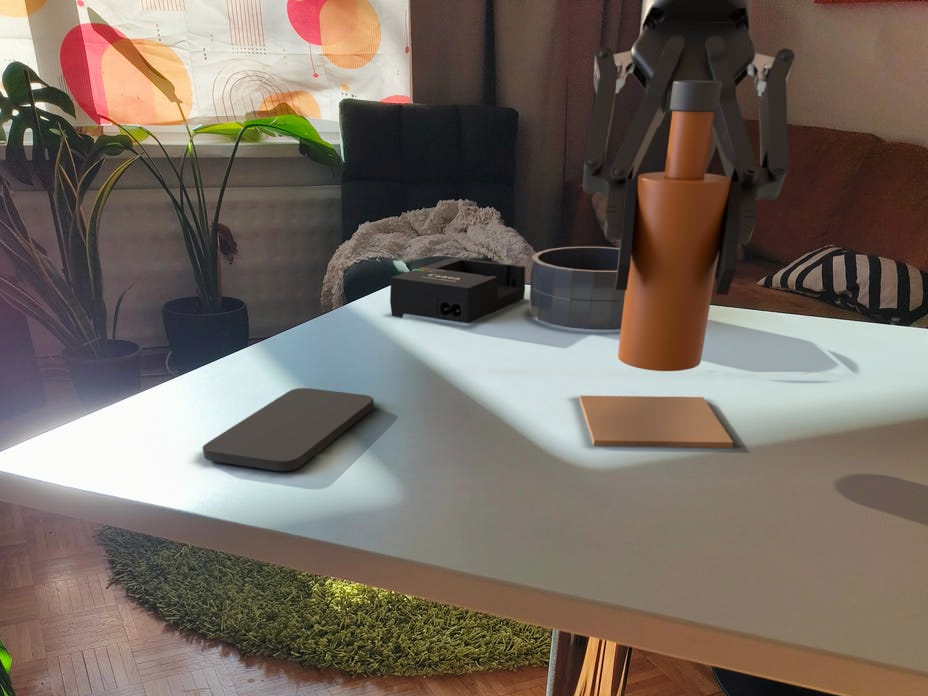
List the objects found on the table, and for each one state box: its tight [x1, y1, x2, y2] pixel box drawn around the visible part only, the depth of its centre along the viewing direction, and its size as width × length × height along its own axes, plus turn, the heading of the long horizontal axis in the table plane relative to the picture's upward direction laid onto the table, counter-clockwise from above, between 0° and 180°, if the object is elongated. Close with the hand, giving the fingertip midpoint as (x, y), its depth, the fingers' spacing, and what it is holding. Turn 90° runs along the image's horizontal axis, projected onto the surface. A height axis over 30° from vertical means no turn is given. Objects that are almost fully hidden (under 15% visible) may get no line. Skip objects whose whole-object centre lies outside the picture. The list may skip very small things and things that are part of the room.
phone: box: [202, 387, 375, 472], centre depth 66 cm, size 7×1×15 cm
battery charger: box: [389, 257, 526, 324], centre depth 97 cm, size 13×10×4 cm
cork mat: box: [579, 395, 734, 449], centre depth 68 cm, size 10×10×1 cm
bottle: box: [617, 80, 731, 372], centre depth 61 cm, size 6×6×17 cm
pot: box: [528, 246, 625, 330], centre depth 93 cm, size 13×13×6 cm
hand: (673, 279), depth 59 cm, fingers closed on bottle, 6 cm apart
